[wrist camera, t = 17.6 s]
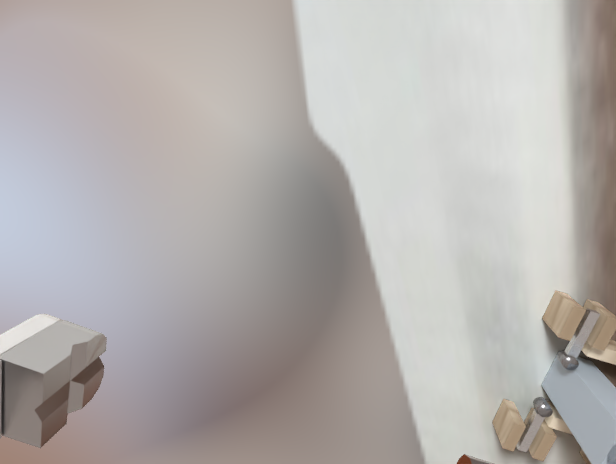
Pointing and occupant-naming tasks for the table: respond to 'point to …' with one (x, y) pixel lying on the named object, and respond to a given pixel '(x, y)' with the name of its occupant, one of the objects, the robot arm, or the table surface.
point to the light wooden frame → (508, 421)
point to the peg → (585, 407)
